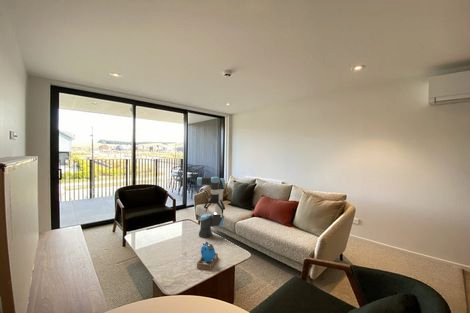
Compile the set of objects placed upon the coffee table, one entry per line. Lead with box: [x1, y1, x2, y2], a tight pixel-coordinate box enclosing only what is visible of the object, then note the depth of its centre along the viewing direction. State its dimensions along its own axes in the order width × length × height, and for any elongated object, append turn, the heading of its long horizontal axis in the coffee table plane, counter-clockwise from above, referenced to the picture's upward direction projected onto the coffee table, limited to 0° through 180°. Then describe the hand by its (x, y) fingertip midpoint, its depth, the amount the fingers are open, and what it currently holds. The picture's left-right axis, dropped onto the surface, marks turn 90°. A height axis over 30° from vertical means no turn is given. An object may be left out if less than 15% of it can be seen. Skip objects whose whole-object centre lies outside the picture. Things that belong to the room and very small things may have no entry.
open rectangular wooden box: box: [196, 252, 219, 271], centre depth 168 cm, size 19×12×4 cm, turn 168°
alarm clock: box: [200, 241, 216, 262], centre depth 168 cm, size 13×6×15 cm, turn 45°
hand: (214, 216), depth 183 cm, fingers open, 13 cm apart
